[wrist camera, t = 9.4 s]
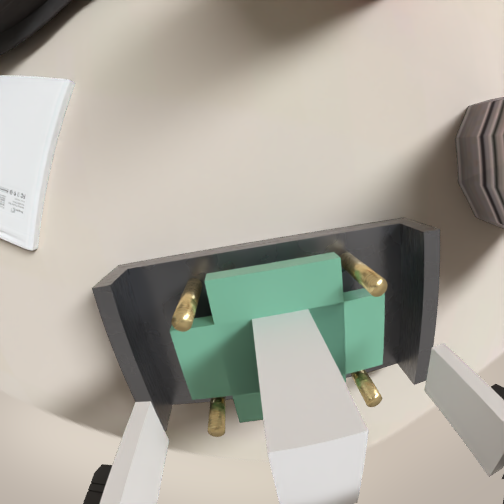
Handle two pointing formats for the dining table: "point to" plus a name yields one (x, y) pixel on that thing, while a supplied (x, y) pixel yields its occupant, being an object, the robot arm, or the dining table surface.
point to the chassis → (262, 252)
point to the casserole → (25, 19)
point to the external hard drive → (28, 151)
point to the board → (268, 294)
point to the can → (483, 159)
